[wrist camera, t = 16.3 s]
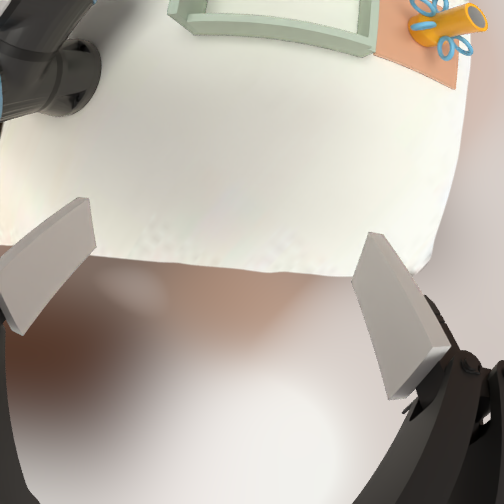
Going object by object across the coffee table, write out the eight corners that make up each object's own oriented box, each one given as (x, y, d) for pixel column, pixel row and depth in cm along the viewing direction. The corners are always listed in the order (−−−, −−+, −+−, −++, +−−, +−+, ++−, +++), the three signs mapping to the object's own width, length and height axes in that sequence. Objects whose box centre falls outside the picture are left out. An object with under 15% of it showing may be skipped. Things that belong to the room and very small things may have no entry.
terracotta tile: (373, 54, 30) (375, 53, 29) (378, -20, 22) (380, -22, 21) (452, 89, 30) (455, 89, 29) (455, 18, 22) (458, 17, 21)
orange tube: (457, 41, 24) (513, 35, 11) (435, 75, 29) (495, 76, 16) (405, -9, 21) (451, -35, 8) (379, 24, 26) (426, -2, 13)
